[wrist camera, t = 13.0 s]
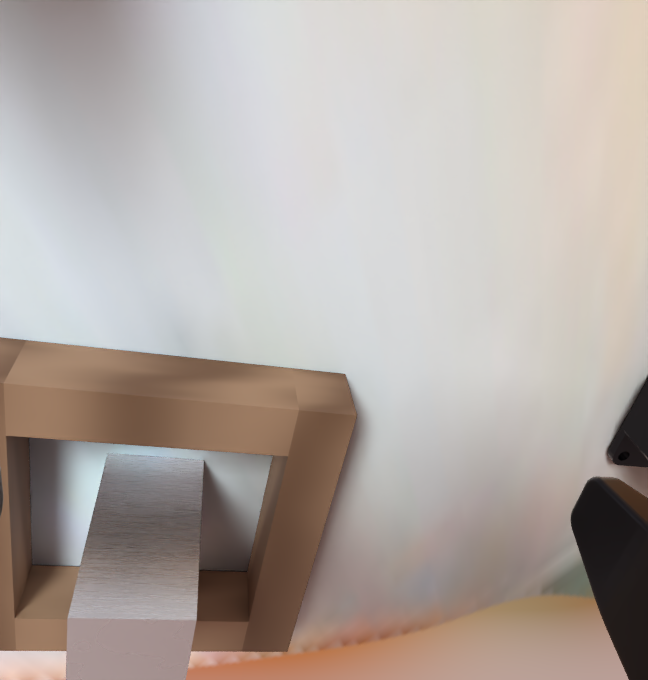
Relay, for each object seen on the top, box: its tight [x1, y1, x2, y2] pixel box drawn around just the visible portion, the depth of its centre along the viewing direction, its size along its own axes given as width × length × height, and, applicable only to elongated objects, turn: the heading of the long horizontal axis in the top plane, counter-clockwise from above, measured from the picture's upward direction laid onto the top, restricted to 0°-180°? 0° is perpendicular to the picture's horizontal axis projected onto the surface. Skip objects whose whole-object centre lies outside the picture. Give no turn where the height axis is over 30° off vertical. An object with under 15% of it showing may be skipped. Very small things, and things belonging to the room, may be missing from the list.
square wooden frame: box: [0, 338, 357, 652], centre depth 24 cm, size 13×13×2 cm
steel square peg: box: [66, 453, 204, 680], centre depth 22 cm, size 4×4×7 cm
